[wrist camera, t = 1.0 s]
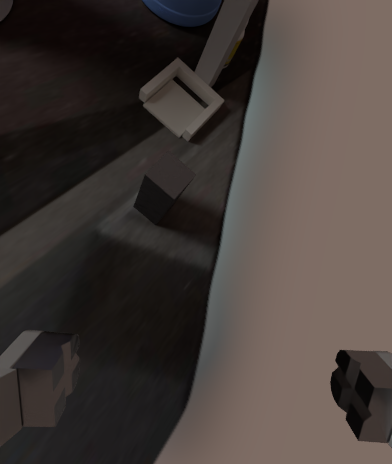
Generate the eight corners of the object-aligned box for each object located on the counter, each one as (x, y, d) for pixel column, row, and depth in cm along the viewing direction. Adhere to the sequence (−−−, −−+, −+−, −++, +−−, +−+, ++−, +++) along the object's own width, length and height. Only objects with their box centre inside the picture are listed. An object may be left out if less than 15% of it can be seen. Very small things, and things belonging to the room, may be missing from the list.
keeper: (127, 92, 44) (142, -14, 29) (178, 50, 49) (212, -59, 34) (185, 144, 45) (227, 66, 30) (229, 98, 50) (284, 12, 35)
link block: (133, 206, 40) (144, 174, 30) (151, 187, 42) (168, 150, 32) (155, 225, 41) (174, 199, 30) (172, 205, 42) (196, 174, 32)
